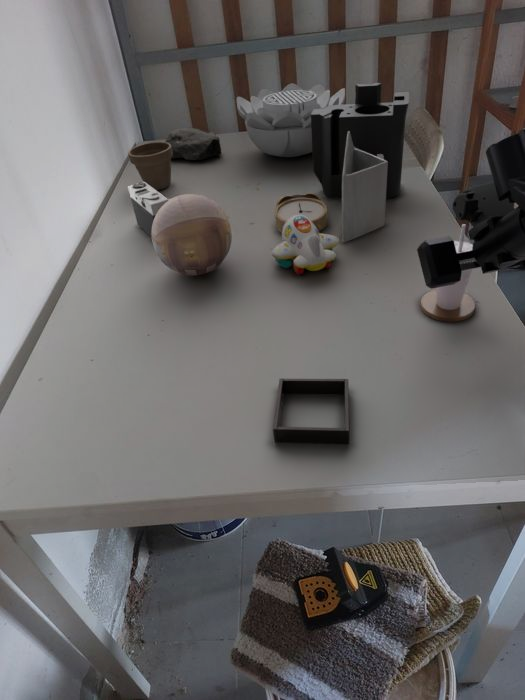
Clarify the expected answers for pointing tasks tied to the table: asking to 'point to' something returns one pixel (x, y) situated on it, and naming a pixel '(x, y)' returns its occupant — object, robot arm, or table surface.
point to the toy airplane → (304, 246)
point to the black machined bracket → (359, 136)
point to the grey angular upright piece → (362, 192)
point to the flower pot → (153, 163)
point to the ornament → (191, 234)
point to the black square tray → (311, 433)
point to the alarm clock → (301, 209)
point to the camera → (146, 204)
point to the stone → (193, 144)
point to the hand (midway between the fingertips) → (461, 270)
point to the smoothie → (454, 293)
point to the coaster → (441, 314)
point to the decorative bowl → (285, 118)
